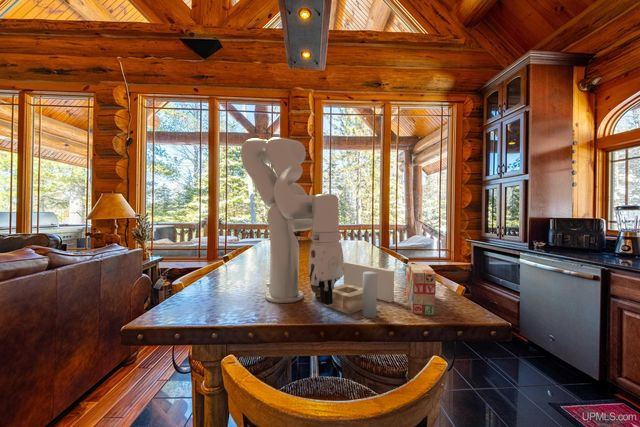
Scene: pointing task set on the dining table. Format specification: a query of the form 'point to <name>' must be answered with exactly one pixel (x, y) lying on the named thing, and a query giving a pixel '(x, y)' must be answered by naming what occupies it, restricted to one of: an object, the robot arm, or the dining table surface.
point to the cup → (315, 290)
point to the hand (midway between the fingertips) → (326, 303)
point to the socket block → (347, 298)
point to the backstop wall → (384, 279)
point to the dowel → (369, 295)
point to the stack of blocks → (421, 288)
